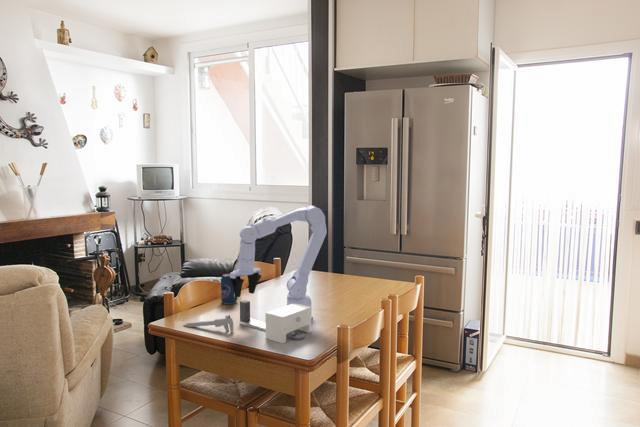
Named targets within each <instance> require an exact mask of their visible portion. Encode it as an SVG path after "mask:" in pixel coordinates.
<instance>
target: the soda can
mask: <svg viewBox="0 0 640 427" xmlns="http://www.w3.org/2000/svg"><path fill="white" fill-rule="evenodd" d="M238 298H239V297H236V296H235V294H234V289H233V286H232V283H231V281H230V273H229V272H228V273H222V275H221V279H220V301H221V302H222V303H223V304H225V305H232V304H236V302H237V300H238Z"/></svg>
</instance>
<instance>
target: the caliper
mask: <svg viewBox="0 0 640 427" xmlns="http://www.w3.org/2000/svg"><path fill="white" fill-rule="evenodd" d="M224 317H225V318H223V317H222V318H215V319H214V320H205V321H191V322H186V323H185V324H183V325H182V326H183V327H186V326H188V327H187V328H195V327H206V326H215V328H218V327H219V328H220V327H222V326H223V328H224V329H225V332H226V333H229V332H230V333H233V332H234V327H235V326H234V321H233V317H231V315H230V314H229V315H225V316H224Z"/></svg>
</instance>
